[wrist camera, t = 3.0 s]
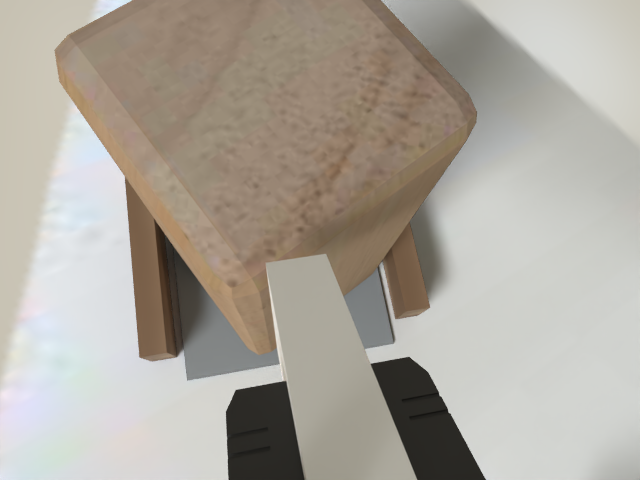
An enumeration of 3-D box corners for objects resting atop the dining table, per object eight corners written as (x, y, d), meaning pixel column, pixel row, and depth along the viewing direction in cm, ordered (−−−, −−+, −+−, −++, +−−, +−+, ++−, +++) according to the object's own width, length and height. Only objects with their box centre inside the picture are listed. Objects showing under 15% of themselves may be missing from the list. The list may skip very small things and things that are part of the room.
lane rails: (376, 138, 38) (384, 116, 35) (417, 315, 34) (430, 307, 31) (135, 169, 36) (122, 149, 33) (152, 361, 32) (139, 357, 30)
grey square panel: (348, 135, 38) (348, 134, 38) (393, 343, 34) (393, 343, 34) (164, 159, 36) (163, 158, 36) (187, 380, 32) (187, 380, 32)
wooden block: (168, 239, 34) (28, 37, 15) (290, 157, 37) (299, -106, 18) (258, 363, 33) (225, 307, 14) (381, 268, 35) (501, 107, 16)
